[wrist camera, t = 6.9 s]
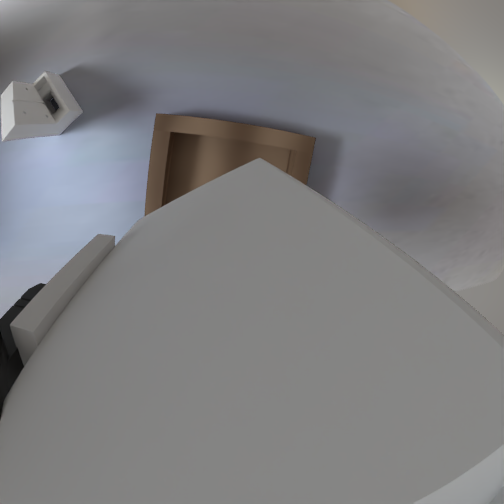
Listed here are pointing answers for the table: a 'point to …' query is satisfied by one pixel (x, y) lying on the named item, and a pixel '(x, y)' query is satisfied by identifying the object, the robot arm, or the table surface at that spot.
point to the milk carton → (258, 366)
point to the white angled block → (37, 108)
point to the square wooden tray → (215, 154)
